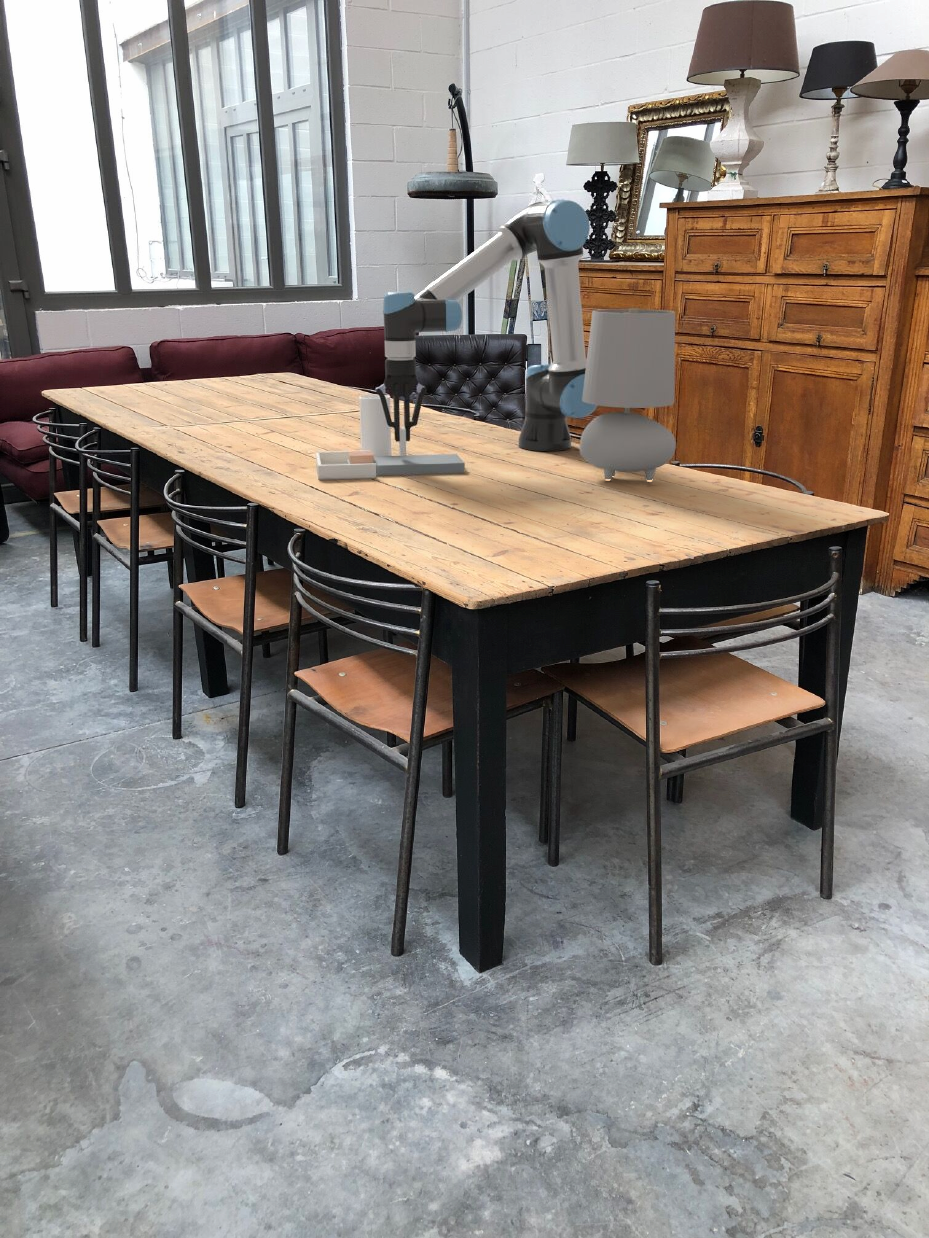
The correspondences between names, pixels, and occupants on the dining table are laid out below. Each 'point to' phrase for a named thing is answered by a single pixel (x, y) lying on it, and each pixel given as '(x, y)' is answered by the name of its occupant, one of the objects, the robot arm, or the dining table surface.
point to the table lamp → (629, 389)
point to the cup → (374, 425)
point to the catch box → (341, 467)
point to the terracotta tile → (360, 457)
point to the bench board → (419, 464)
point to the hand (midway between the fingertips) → (402, 454)
